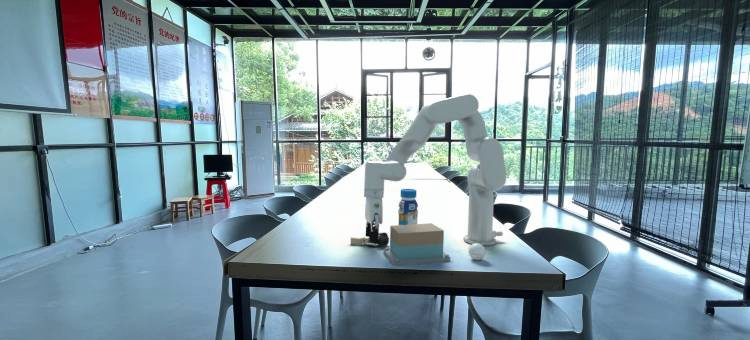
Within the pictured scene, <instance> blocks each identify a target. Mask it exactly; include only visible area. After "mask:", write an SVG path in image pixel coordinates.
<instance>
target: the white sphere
mask: <svg viewBox="0 0 750 340" xmlns="http://www.w3.org/2000/svg"><path fill="white" fill-rule="evenodd" d="M486 254H487V252H486V249H485V246H482V245H481V244H478V243H475V244H470V246H469V247H468V255H469V256H470V258H471V259H473V260H475V261H481V260H483V259H484V258H485V256H486ZM488 254H491V253H490V252H489V253H488Z"/></svg>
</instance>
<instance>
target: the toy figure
mask: <svg viewBox="0 0 750 340" xmlns="http://www.w3.org/2000/svg"><path fill="white" fill-rule="evenodd" d="M369 233H370V231H369ZM366 244H370V245H367V247H369V248H376V247H387V246H388V244H390V236H389V234H388V233H387V232H383V231H382V232H379V237H378V242H370V237H366V236H365V237H364V236H363V237H350V245H356V246H364V245H366ZM373 244H374V246H373Z"/></svg>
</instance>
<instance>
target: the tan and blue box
mask: <svg viewBox="0 0 750 340" xmlns="http://www.w3.org/2000/svg"><path fill="white" fill-rule="evenodd" d="M444 234H445V231H444V230H443V228H441V227H438V225H435V224H433V223H417V224H412V225H399V224H398V225H396V224H395V225H390V228H389V244H390V245H389V247H387V246H385V247H384V248H383V254H384V255H385V256H386V257H387V258H388V260H389V261H390V262H391V263H392V265H393V266H395V267H396V266H405V265H416V264H417V265H418V264H426V263H428V264H429V263H439V262H440V263H441V262H450V261H451V256H450V254H448V253H446V252H444V237H445V235H444Z"/></svg>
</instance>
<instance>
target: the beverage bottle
mask: <svg viewBox="0 0 750 340" xmlns="http://www.w3.org/2000/svg"><path fill="white" fill-rule="evenodd" d="M400 198H401V199H400V201H399V203H398V211H397V213H398V225H412V224H418V214H419V210H418V207H419V205H418V204H419V203H418V202H417V200H416V198H417V189H415V188H402V189H400Z"/></svg>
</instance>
